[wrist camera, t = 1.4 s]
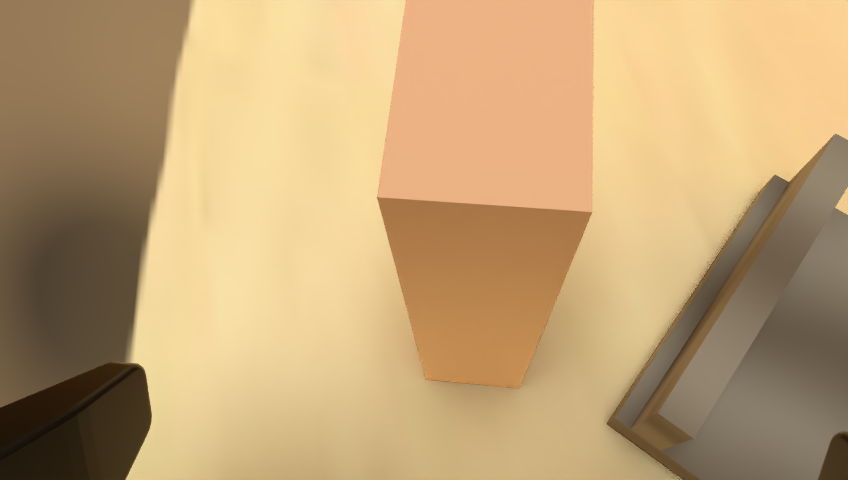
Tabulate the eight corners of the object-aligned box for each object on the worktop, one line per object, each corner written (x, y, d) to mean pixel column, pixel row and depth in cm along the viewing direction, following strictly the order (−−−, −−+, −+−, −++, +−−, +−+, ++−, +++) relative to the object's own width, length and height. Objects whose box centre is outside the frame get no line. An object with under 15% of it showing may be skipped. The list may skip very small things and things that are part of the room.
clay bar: (519, 387, 21) (591, 211, 9) (425, 379, 21) (376, 196, 9) (525, 256, 23) (594, -36, 11) (438, 250, 23) (412, -43, 11)
